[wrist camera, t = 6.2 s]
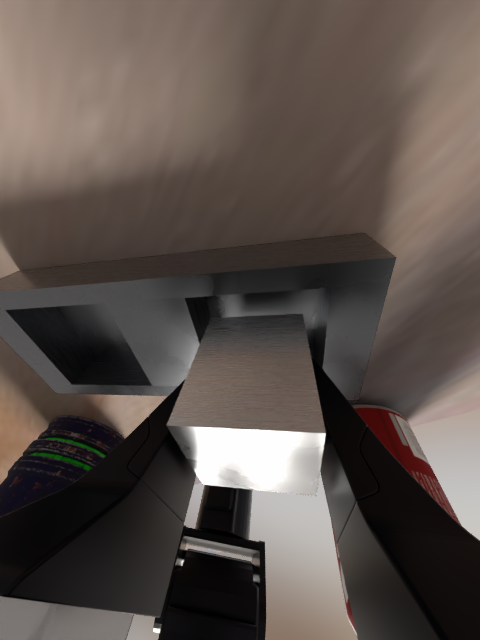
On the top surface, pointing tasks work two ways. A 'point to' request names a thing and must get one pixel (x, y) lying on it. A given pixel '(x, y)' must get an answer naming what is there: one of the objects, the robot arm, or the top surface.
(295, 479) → the grey foam cube
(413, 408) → the top surface
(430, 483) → the soda can
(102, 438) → the storage jar
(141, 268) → the tray
